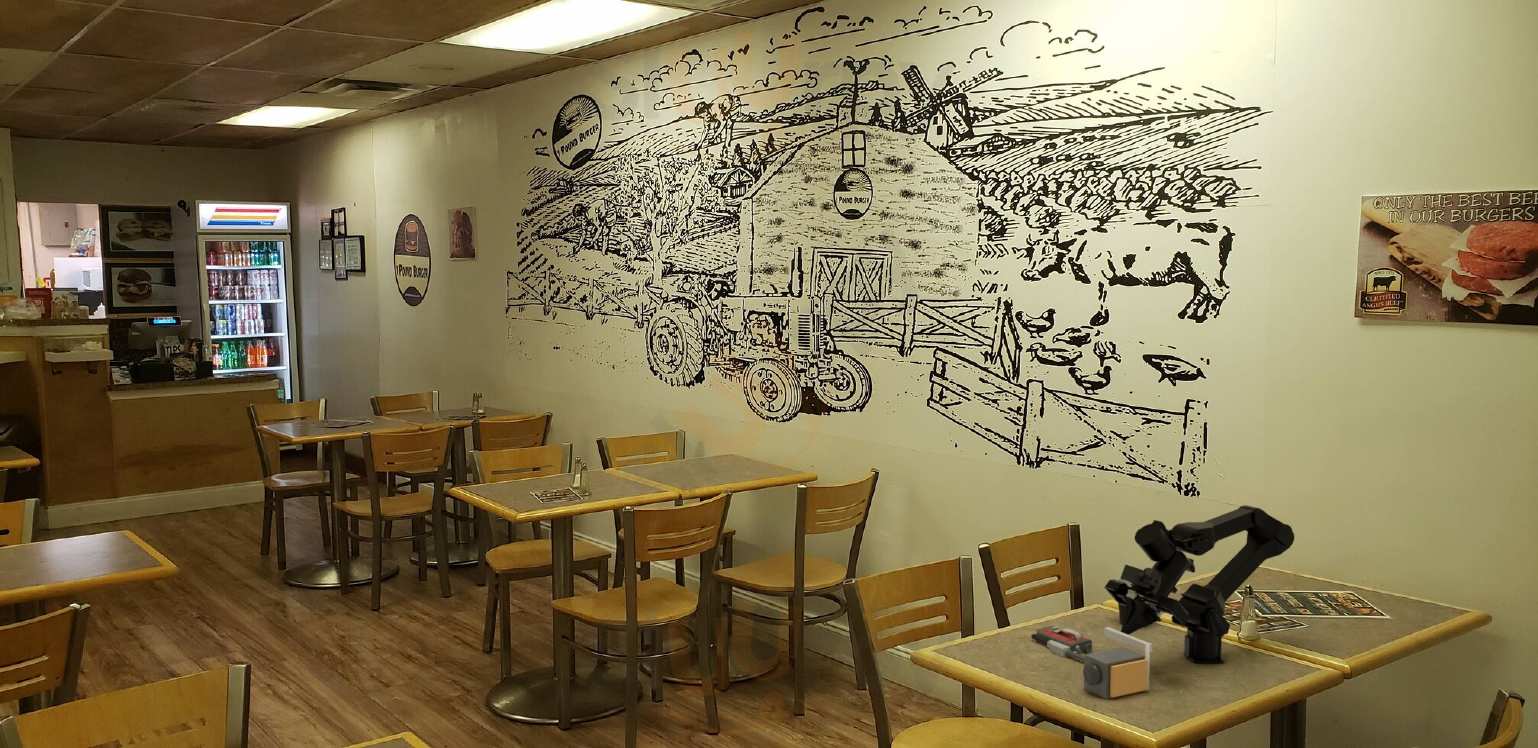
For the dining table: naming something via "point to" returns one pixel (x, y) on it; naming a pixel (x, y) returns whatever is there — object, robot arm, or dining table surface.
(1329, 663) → the dining table surface
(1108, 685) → the camera housing
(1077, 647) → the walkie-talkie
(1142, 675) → the tan panel with bar
